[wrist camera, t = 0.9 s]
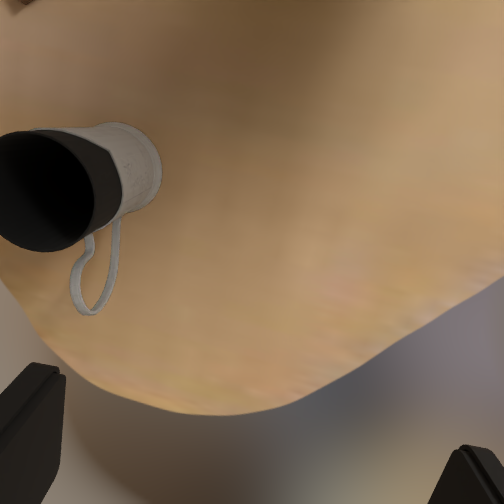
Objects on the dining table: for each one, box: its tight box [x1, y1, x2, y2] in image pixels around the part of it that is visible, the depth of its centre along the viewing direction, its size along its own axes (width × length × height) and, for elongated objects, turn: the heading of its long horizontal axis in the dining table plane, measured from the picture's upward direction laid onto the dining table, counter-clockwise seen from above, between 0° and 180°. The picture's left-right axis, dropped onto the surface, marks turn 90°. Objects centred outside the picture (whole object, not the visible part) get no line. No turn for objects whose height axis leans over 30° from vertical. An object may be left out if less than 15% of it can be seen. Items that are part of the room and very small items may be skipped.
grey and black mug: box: [0, 122, 162, 316], centre depth 32 cm, size 9×14×15 cm, turn 7°
